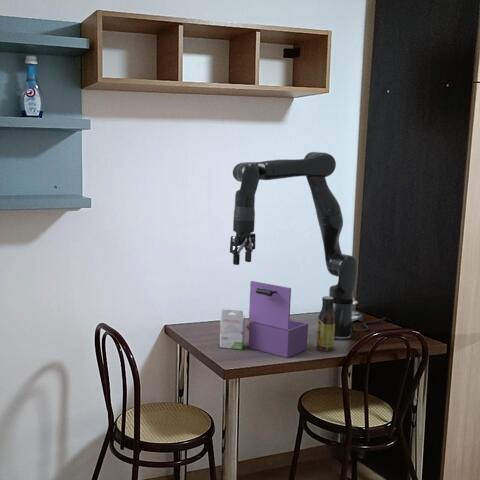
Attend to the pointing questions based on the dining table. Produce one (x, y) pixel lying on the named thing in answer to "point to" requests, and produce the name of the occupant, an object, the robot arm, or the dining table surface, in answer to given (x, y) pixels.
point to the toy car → (356, 313)
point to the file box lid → (270, 304)
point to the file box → (279, 338)
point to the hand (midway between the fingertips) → (242, 263)
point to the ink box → (232, 329)
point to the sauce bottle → (326, 325)
